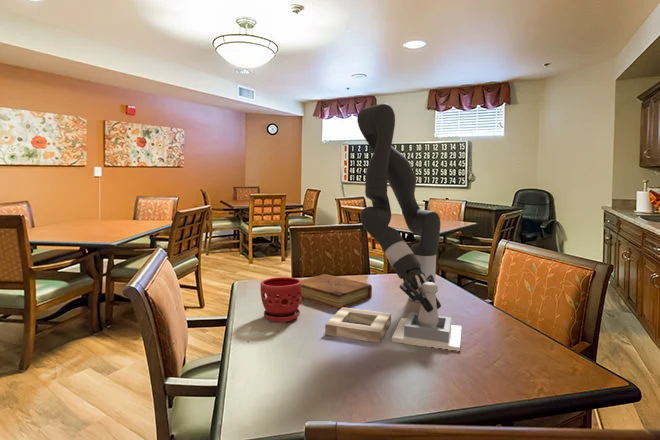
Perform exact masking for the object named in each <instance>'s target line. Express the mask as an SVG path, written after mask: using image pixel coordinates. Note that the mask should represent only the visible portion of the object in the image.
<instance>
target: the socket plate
mask: <svg viewBox="0 0 660 440" xmlns="http://www.w3.org/2000/svg"><path fill="white" fill-rule="evenodd" d="M418 315H419V312H413V311H410V312H409V315H408V316H407V318H403V317H401V319H400V320H399V322H398V324H397V326H396V328H395V330H394V332H393V335H392V336H391V342H393V343H399V344H405V345H413V346H419V347H425V346H426V348H431V347H434V348H433V349H438V348H442V349H441V350H445V349H448V350H447V351H451V350H457V351H456V352H458V351H461V341H462V331H461V330H463V329H462V327H463V326H462V325H458V324H457V325H455V324H452V317H450V316H443V315H442V316H441V315H438V319H439V321H438V324H437V326H436V328H431V327H423V326H420V324H419V321H418Z"/></svg>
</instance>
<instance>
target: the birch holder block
mask: <svg viewBox="0 0 660 440" xmlns="http://www.w3.org/2000/svg"><path fill="white" fill-rule="evenodd" d="M391 321H392V313H390V312H382V311H374V310H368V309H367V310H365V309H360V308H359V309H358V308H350V307H345V308H344V307H342V308H341V309H338V311H337V312H336V313H335V314H334V315H333V316H332V317H330V319H329V320H328V321H327V322H326V323H325V324H324V334H325V335H328V336H332V337H333V336H334V337H341V338H347V339H348V338H349V339H354V340H360V341H367V342H371V343H372V342H373V343H380V342H381V341H382V339H383V338H384V335H385V333H386V332H387V330H388V328H389V327H390V325H391V324H392V323H391ZM352 322H353V323H352ZM358 323H359V324H358Z"/></svg>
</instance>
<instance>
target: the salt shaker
mask: <svg viewBox="0 0 660 440" xmlns="http://www.w3.org/2000/svg"><path fill="white" fill-rule="evenodd" d="M422 290H423V291H424V294H425V296H426V297H425V298H427V299H428V300H429V302H430V303H431V305H432V306H433V308H434V309H433V310H432V311H431V312H429V313H428V312H427V311H426V310H425V309H424V307H423V306H422V304H421V303H420V308H419V310H418V311H419V312H418V313H419V315H418V321H419V324H420V326H423V327H431V328H436V326H437V324H438V321H439V319H438V316H439V313H438V309H437V304H436V298H437V295H436V293H437V292H438V291H437V290H438V284H437V283H436V282H435V283H433V282H425V283H423V284H422ZM435 292H436V293H435Z"/></svg>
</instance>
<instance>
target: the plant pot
mask: <svg viewBox="0 0 660 440" xmlns="http://www.w3.org/2000/svg"><path fill="white" fill-rule="evenodd" d="M301 280H302V279H301ZM301 280H300V279H299V278H296V277H290V276H289V277H280V276H279V277H270V278H266V279H264V280H262V281H261V282H260V296H261V297H260V298H261V302H262V306H263V307H264V311H263V316H264V318H266V319H267V320H269V321H272V322H276V323H282V322H283V323H285V322H292V321H293V320H295V319H297V318H298V317H299V316H300V314H301V309H299V307H300V304H301V301H302V298H301V295H302V282H301Z"/></svg>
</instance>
